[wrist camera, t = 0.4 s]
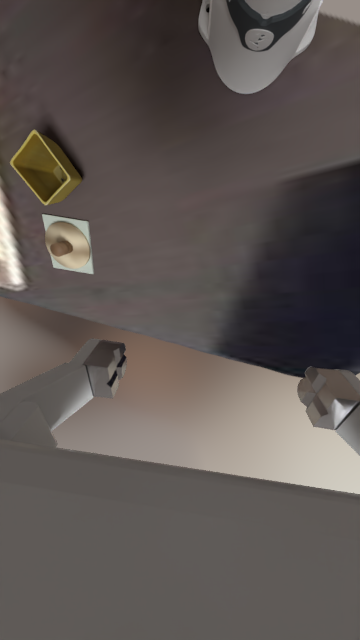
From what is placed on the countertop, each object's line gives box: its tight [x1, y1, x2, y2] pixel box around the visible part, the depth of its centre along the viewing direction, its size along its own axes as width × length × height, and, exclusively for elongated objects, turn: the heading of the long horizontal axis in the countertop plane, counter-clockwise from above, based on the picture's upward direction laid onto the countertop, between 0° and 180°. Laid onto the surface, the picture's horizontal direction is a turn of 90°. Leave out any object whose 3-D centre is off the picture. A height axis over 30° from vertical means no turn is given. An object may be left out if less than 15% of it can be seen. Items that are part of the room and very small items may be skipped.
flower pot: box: [10, 130, 82, 205], centre depth 41 cm, size 9×9×9 cm
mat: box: [42, 214, 94, 274], centre depth 53 cm, size 14×12×1 cm
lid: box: [45, 222, 91, 269], centre depth 51 cm, size 12×12×6 cm
